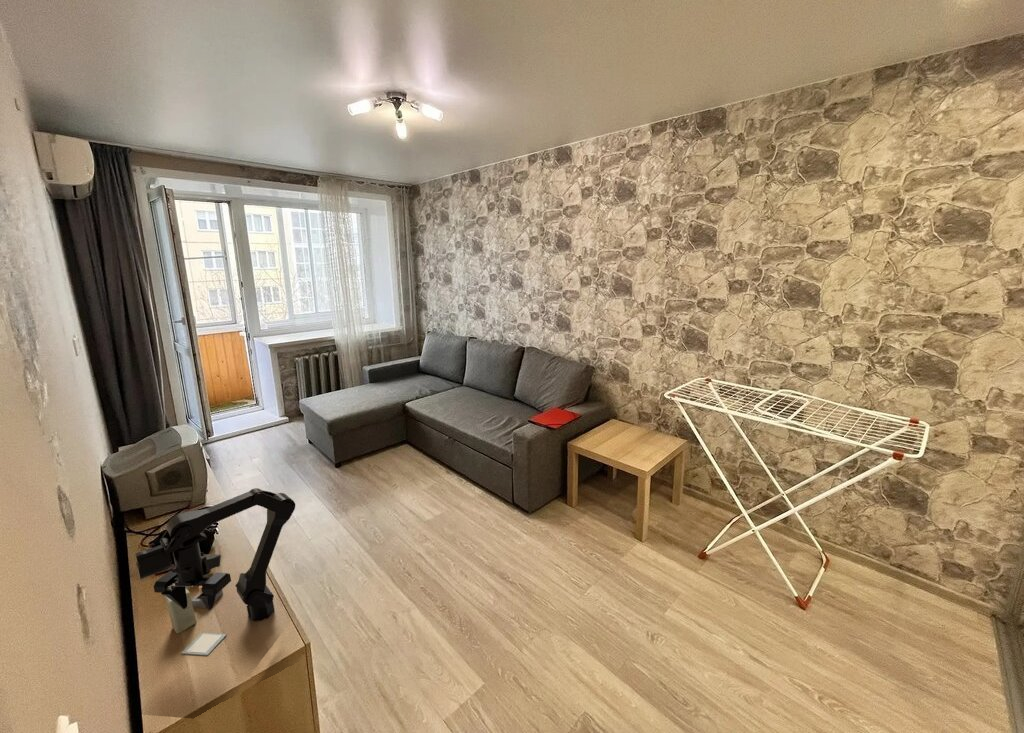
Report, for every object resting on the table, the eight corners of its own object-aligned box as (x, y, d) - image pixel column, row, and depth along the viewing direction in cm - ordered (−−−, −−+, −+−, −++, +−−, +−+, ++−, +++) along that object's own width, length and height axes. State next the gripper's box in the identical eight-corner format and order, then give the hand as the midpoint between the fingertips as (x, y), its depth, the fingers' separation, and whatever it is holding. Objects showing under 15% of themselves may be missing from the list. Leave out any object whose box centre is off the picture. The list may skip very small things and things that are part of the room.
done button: (215, 592, 139) (213, 582, 138) (207, 599, 136) (205, 589, 135) (206, 592, 139) (204, 581, 139) (198, 599, 136) (196, 588, 136)
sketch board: (226, 635, 124) (226, 634, 124) (207, 655, 117) (207, 654, 117) (201, 633, 125) (201, 632, 125) (181, 653, 118) (181, 652, 118)
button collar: (223, 595, 141) (221, 588, 140) (208, 608, 135) (207, 601, 134) (206, 594, 141) (205, 587, 141) (191, 607, 135) (190, 600, 135)
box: (191, 617, 131) (185, 585, 129) (197, 623, 129) (190, 591, 127) (171, 628, 127) (164, 596, 125) (176, 634, 125) (169, 602, 123)
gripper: (240, 542, 123) (248, 589, 126) (182, 540, 125) (191, 587, 128) (210, 568, 112) (220, 618, 115) (146, 565, 114) (158, 615, 117)
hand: (198, 608), depth 119 cm, fingers open, 7 cm apart
